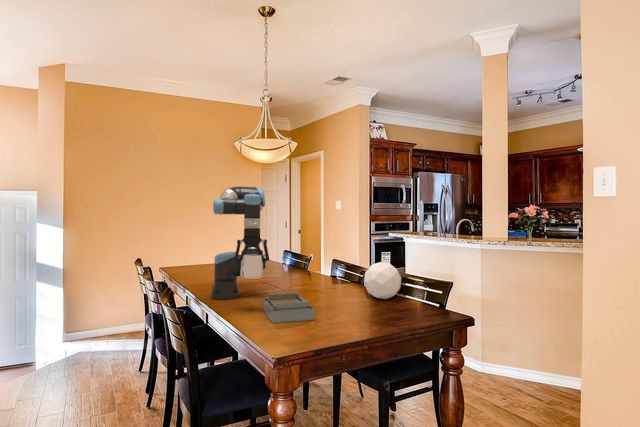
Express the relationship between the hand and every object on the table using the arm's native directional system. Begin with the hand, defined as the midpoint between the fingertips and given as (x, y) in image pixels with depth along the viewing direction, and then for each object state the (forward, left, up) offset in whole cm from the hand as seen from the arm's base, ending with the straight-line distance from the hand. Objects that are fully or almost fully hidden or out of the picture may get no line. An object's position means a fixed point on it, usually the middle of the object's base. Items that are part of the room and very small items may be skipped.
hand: (251, 276), depth 183 cm
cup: (0, -1, 0) cm, 1 cm away
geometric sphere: (-6, +70, -16) cm, 72 cm away
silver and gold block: (+13, +14, -16) cm, 25 cm away
